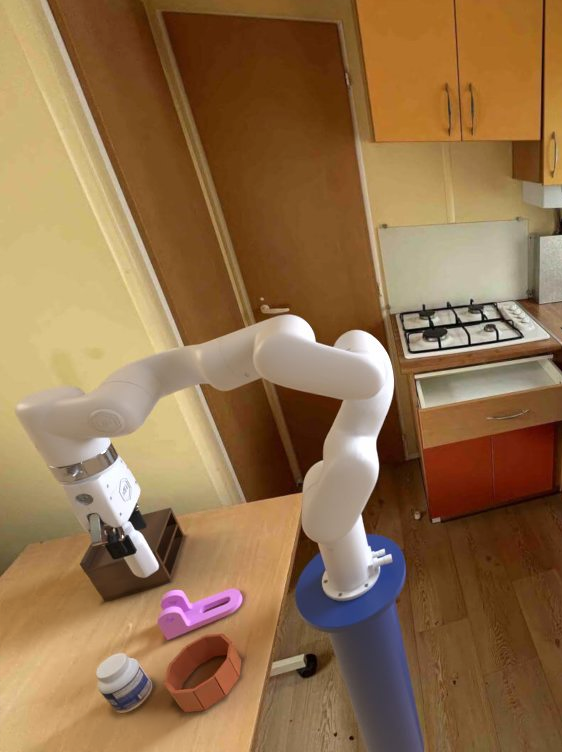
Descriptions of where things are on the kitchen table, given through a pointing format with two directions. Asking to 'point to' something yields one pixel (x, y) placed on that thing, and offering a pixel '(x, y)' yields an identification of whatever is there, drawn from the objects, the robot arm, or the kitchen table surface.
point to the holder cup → (210, 688)
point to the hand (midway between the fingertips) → (130, 541)
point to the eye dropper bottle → (139, 553)
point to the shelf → (116, 574)
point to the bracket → (194, 611)
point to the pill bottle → (123, 682)
